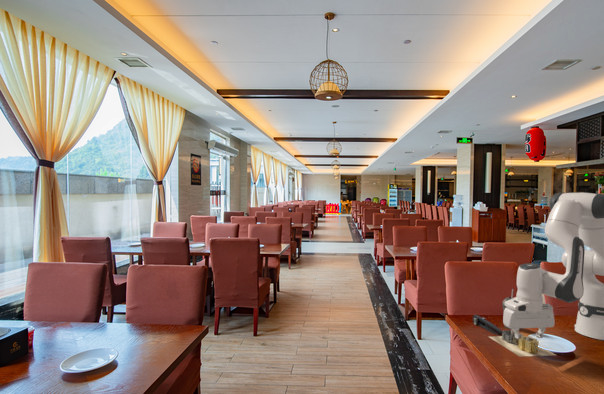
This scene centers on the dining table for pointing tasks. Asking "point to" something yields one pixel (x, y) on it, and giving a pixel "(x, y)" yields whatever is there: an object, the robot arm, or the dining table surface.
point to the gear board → (517, 350)
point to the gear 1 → (510, 337)
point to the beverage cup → (507, 300)
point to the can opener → (485, 324)
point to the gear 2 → (528, 344)
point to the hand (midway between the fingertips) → (528, 337)
